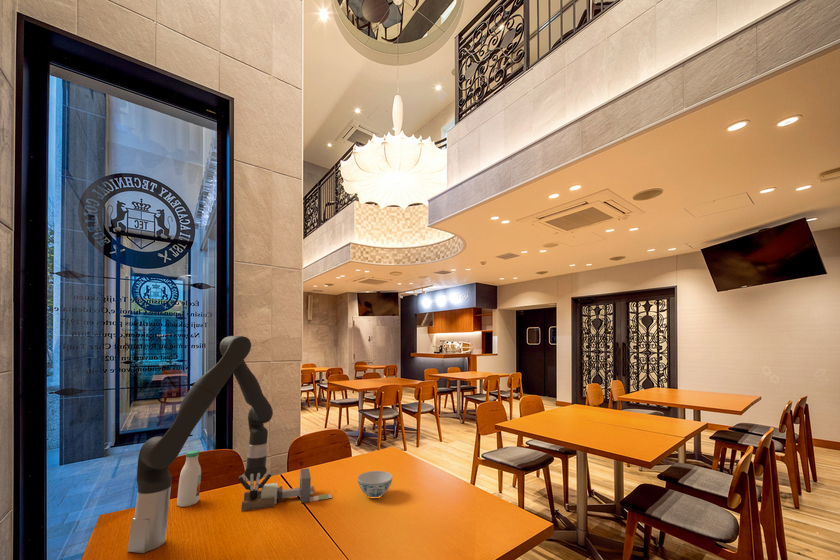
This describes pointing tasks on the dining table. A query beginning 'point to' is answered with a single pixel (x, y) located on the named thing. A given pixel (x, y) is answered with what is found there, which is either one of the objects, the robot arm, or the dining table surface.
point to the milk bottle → (189, 480)
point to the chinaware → (375, 482)
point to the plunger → (292, 492)
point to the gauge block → (270, 491)
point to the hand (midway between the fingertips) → (253, 499)
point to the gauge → (269, 502)
